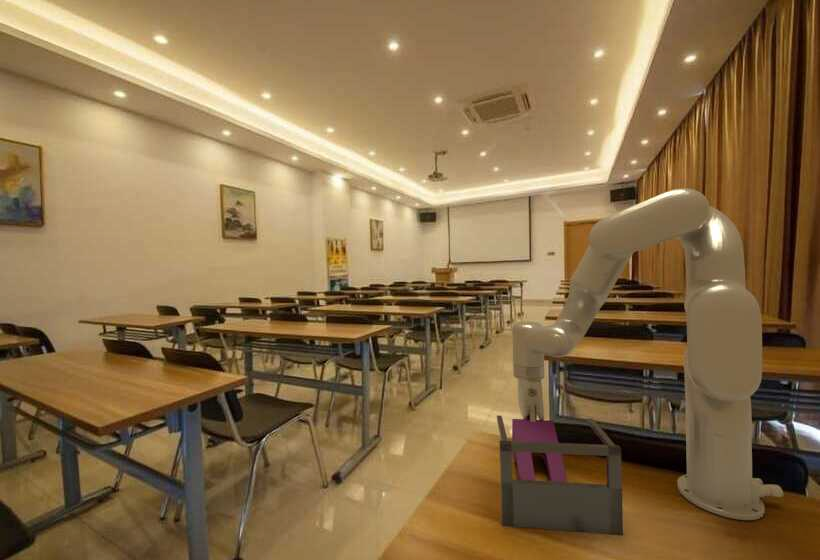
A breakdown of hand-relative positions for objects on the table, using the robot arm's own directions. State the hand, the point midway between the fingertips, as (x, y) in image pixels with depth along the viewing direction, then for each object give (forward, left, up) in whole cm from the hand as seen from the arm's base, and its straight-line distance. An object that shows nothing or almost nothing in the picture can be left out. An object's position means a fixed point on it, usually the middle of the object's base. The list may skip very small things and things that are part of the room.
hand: (529, 441), depth 89 cm
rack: (0, +22, -2) cm, 22 cm away
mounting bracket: (0, +12, -2) cm, 12 cm away
